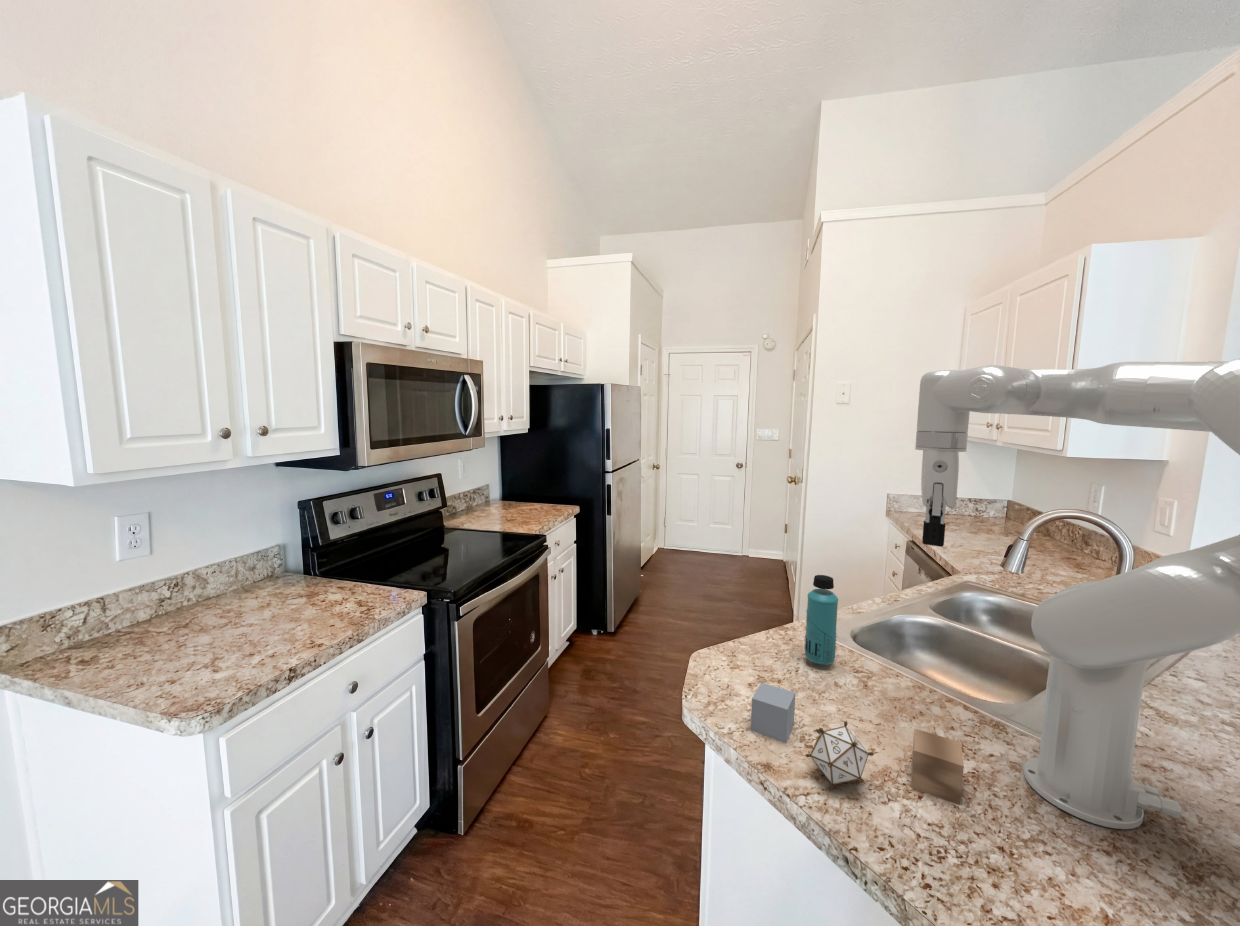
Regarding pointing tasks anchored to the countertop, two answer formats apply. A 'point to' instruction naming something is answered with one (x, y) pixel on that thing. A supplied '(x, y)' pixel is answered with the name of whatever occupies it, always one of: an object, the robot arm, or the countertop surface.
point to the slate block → (773, 712)
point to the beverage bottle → (821, 622)
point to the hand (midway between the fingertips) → (932, 544)
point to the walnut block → (937, 766)
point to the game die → (839, 755)
